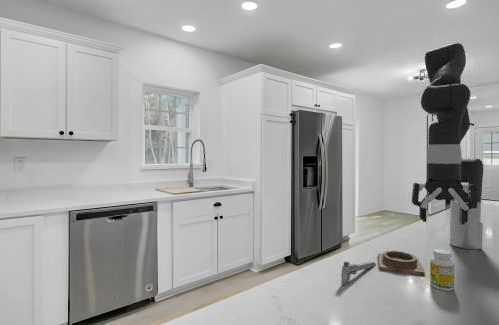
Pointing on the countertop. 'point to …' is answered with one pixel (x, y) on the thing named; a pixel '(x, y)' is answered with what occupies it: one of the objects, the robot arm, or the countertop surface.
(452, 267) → the supplement bottle
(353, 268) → the caliper
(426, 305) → the countertop surface
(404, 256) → the bottle holder
